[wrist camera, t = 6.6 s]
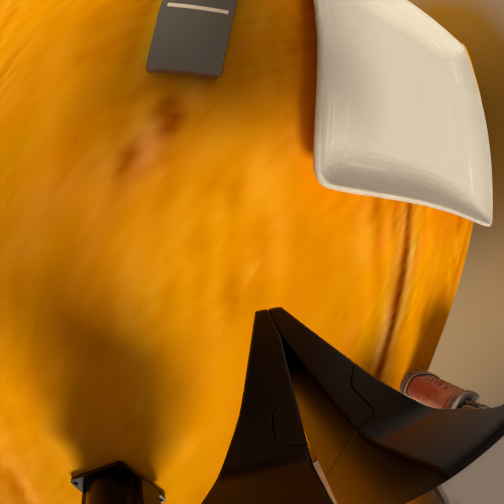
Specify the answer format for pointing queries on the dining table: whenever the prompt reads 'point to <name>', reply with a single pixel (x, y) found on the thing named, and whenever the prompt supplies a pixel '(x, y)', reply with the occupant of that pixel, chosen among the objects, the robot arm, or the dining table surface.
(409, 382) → the lighter
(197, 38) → the domino
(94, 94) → the dining table surface
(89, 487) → the robot arm
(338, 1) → the square plate
